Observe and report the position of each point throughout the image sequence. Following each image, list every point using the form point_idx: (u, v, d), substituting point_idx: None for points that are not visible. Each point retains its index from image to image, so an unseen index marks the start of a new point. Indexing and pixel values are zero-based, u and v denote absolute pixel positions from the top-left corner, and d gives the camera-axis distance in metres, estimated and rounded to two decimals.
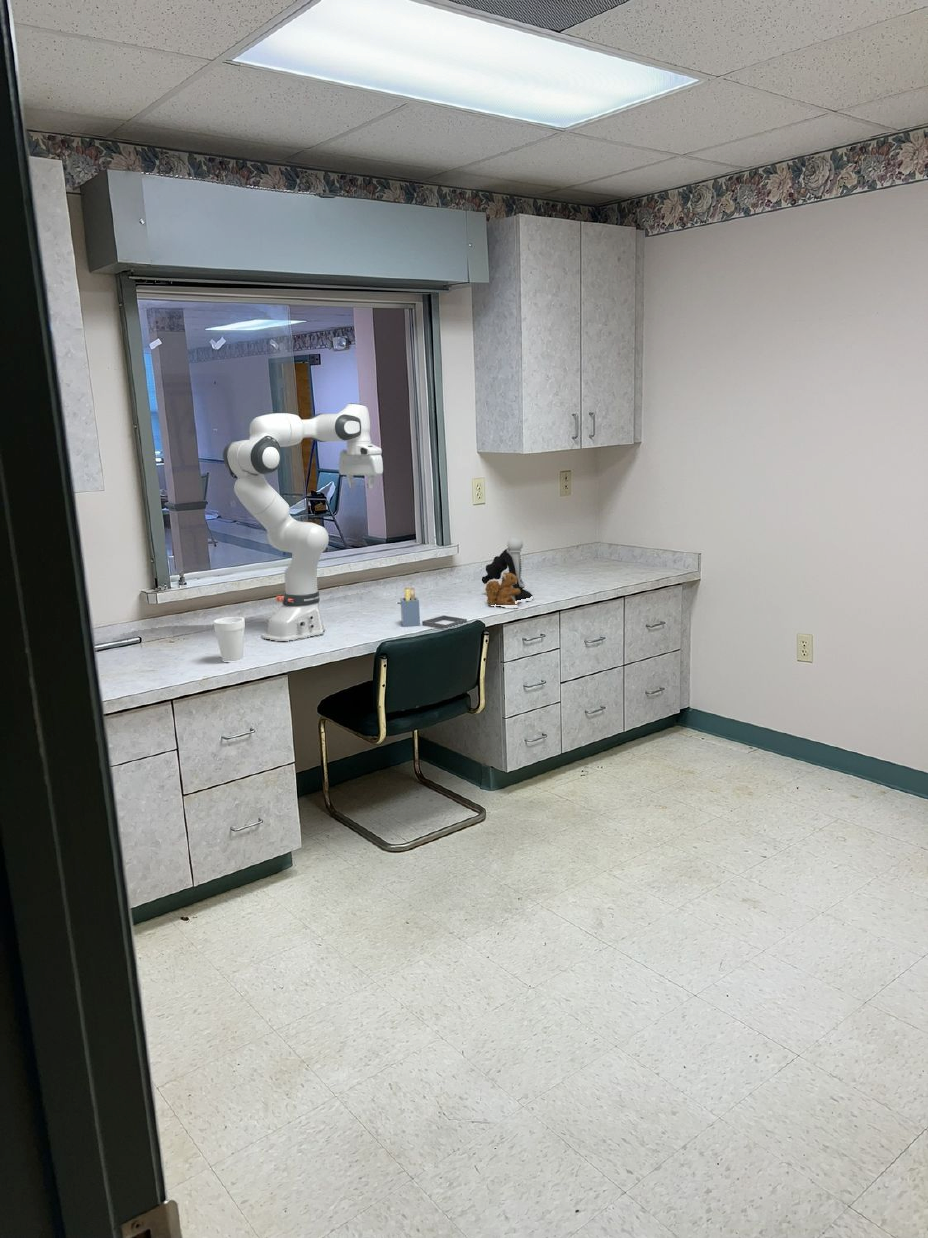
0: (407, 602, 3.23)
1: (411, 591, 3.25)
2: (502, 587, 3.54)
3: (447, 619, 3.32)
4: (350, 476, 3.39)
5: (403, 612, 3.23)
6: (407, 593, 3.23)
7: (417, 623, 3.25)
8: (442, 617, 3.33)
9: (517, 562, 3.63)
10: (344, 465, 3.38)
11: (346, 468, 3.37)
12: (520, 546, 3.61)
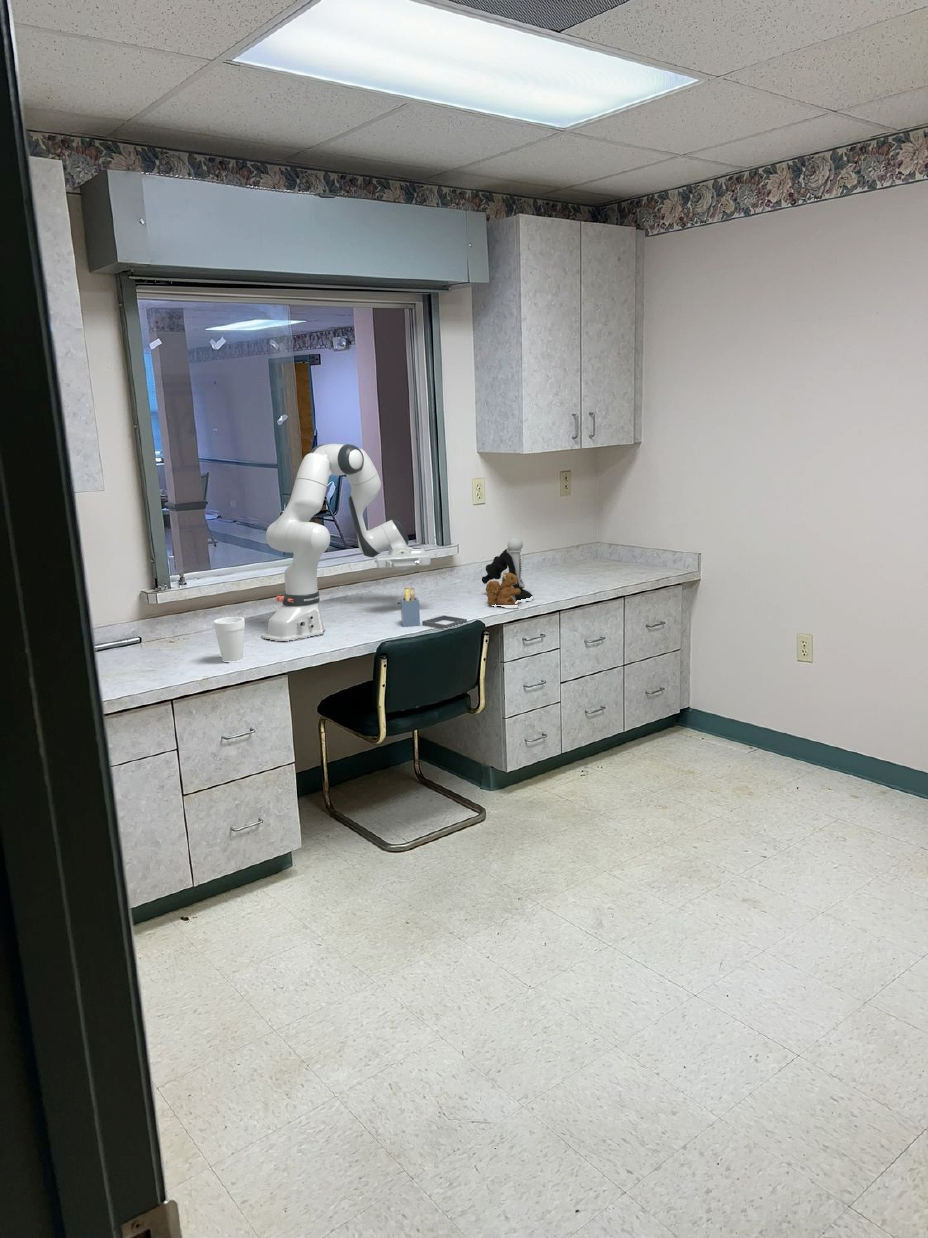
0: (407, 602, 3.23)
1: (411, 591, 3.25)
2: (502, 587, 3.54)
3: (447, 619, 3.32)
4: (390, 562, 3.38)
5: (403, 612, 3.24)
6: (407, 593, 3.24)
7: (417, 623, 3.25)
8: (442, 617, 3.33)
9: (517, 562, 3.63)
10: (385, 557, 3.42)
11: (388, 557, 3.41)
12: (520, 546, 3.61)
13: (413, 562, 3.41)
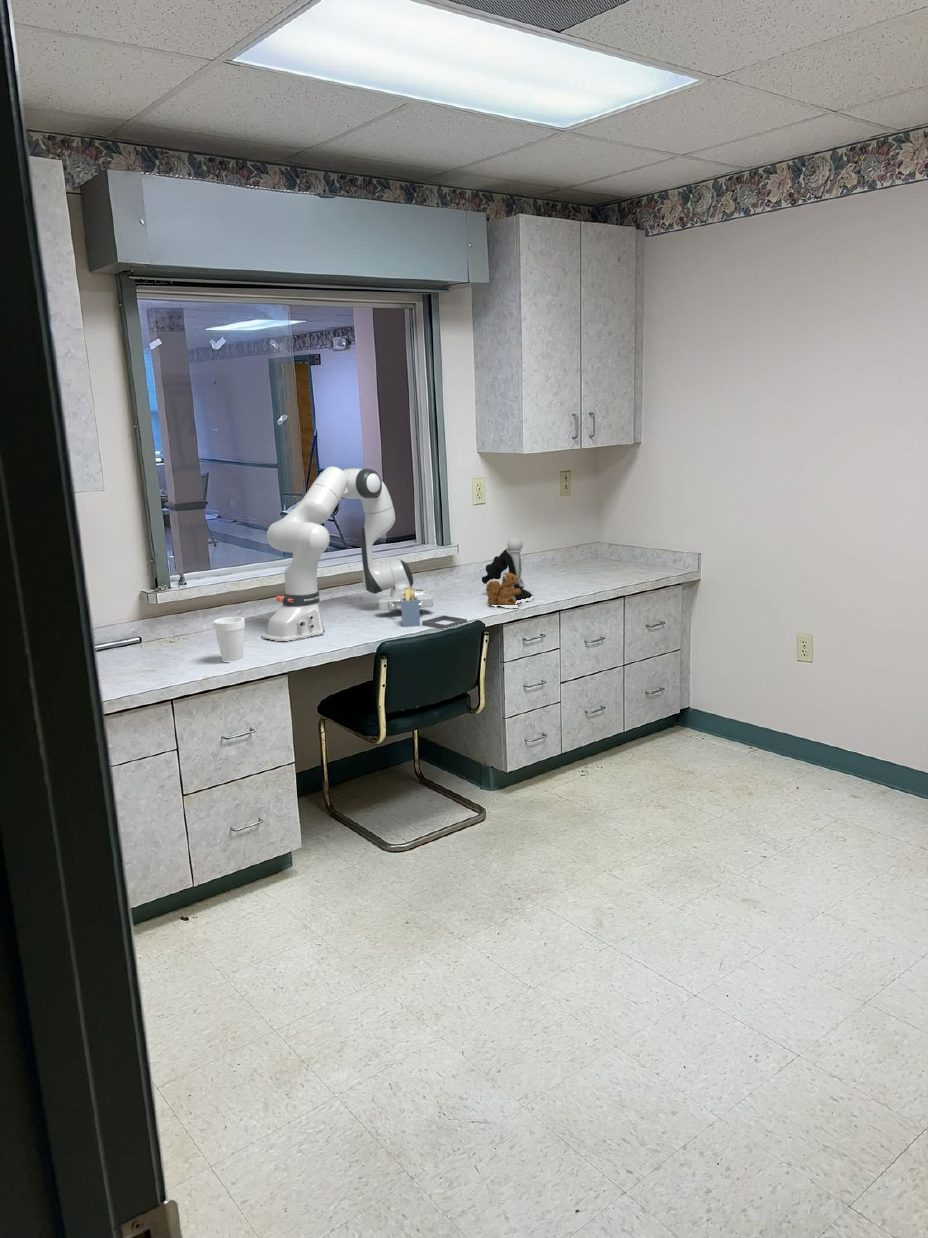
0: (407, 602, 3.23)
1: (411, 591, 3.25)
2: (503, 587, 3.53)
3: (447, 619, 3.32)
4: (392, 604, 3.38)
5: (403, 612, 3.24)
6: (407, 593, 3.23)
7: (417, 623, 3.25)
8: (442, 617, 3.33)
9: (517, 562, 3.63)
10: (387, 598, 3.41)
11: (391, 598, 3.41)
12: (520, 546, 3.61)
13: None
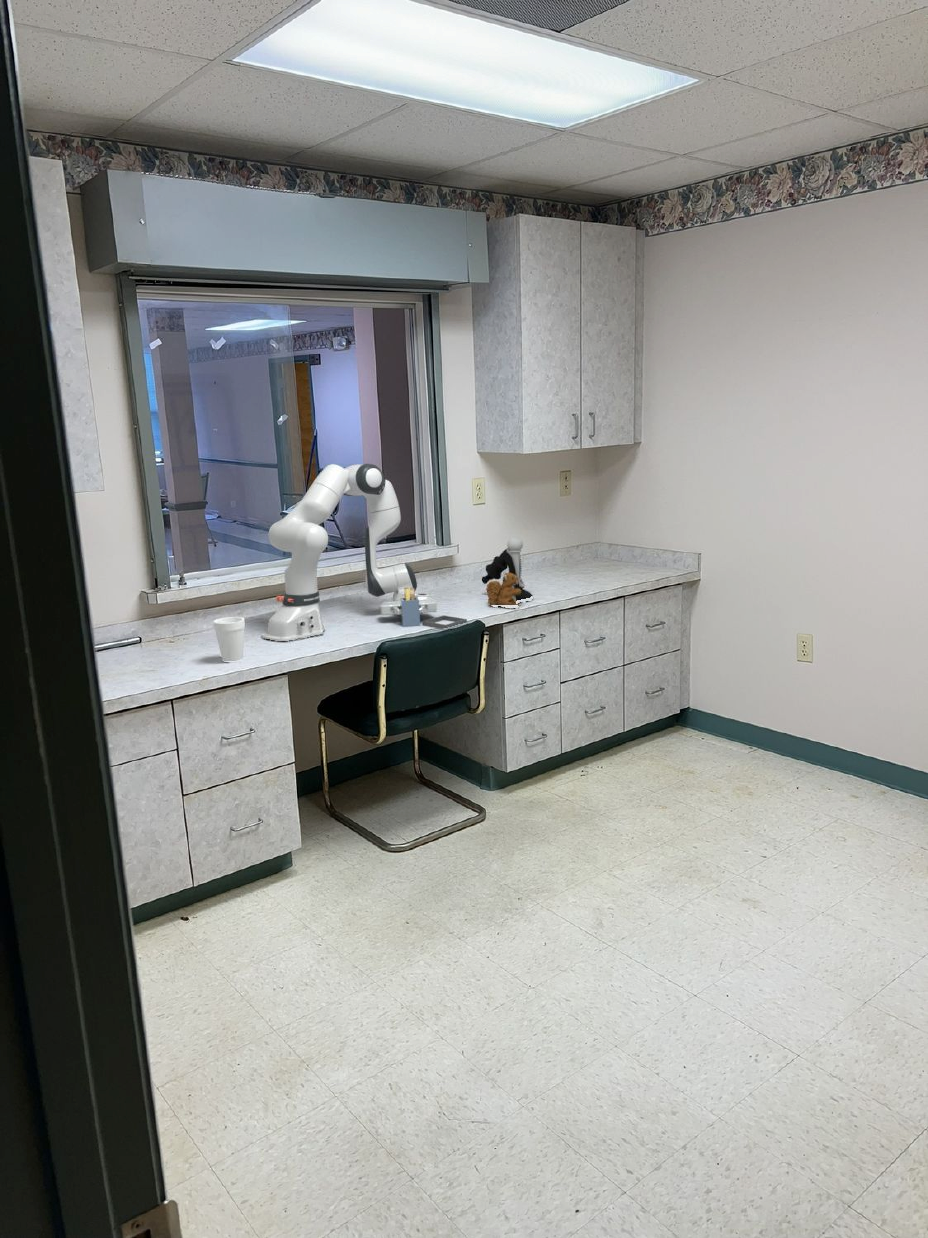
0: (407, 602, 3.23)
1: (411, 591, 3.25)
2: (503, 587, 3.53)
3: (447, 619, 3.32)
4: (397, 609, 3.29)
5: (403, 612, 3.23)
6: (407, 593, 3.24)
7: (417, 623, 3.25)
8: (442, 617, 3.33)
9: (517, 562, 3.63)
10: (389, 603, 3.32)
11: (393, 603, 3.32)
12: (520, 546, 3.61)
13: None
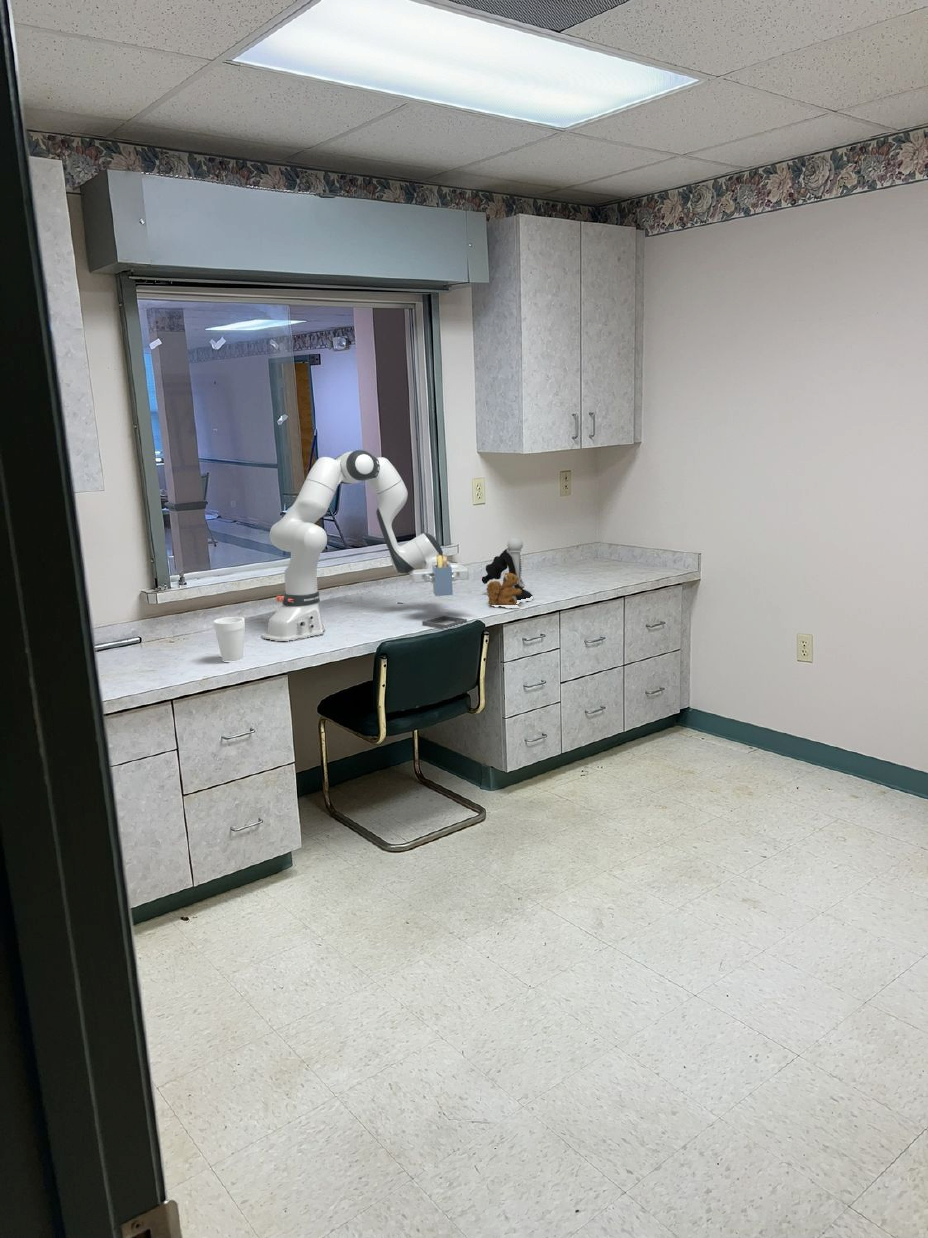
0: (440, 568, 3.19)
1: (443, 558, 3.21)
2: (503, 587, 3.53)
3: (447, 619, 3.32)
4: None
5: (436, 579, 3.20)
6: (440, 559, 3.20)
7: (450, 590, 3.22)
8: (442, 617, 3.33)
9: (517, 562, 3.63)
10: (421, 571, 3.29)
11: (424, 571, 3.28)
12: (520, 546, 3.61)
13: None
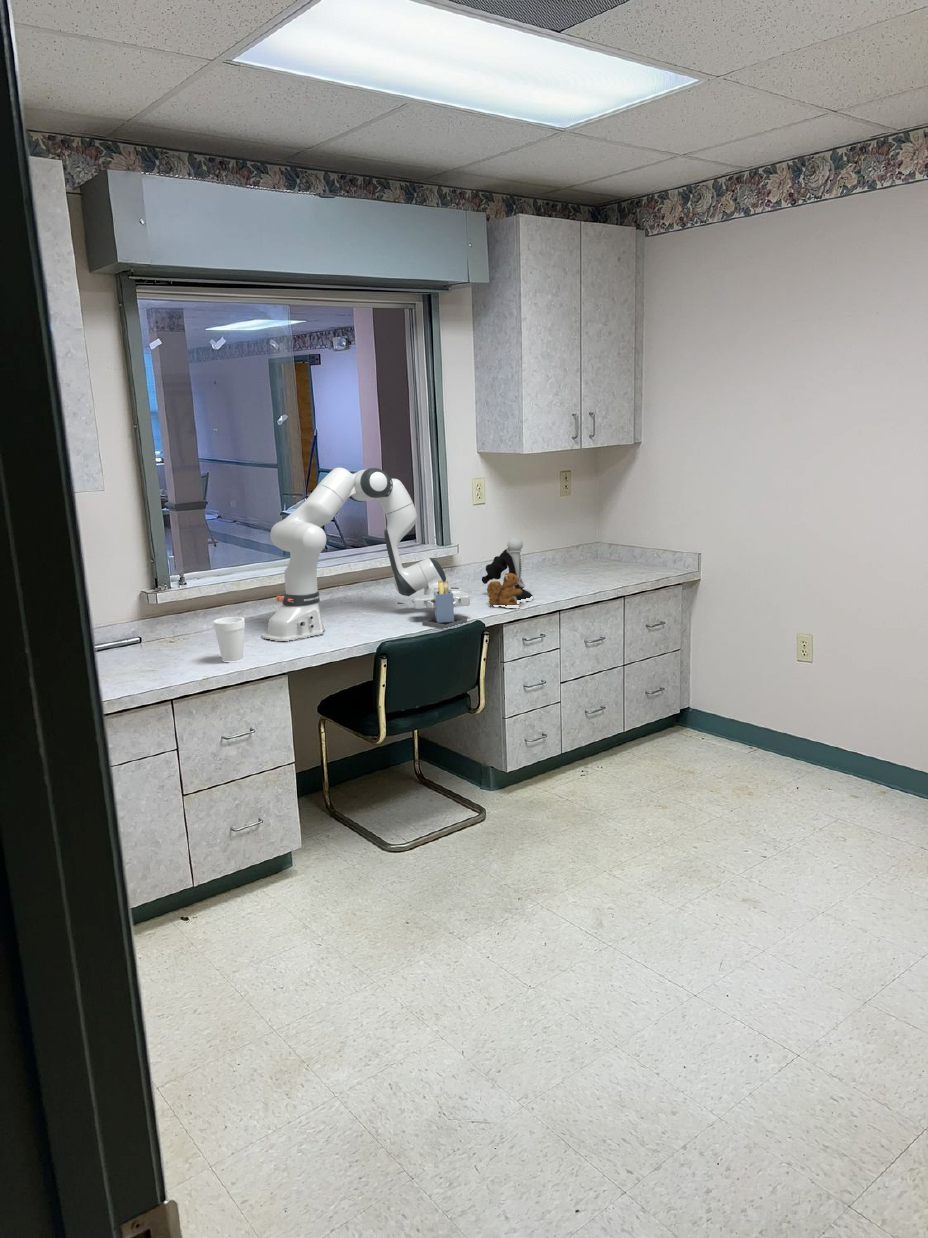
0: (441, 595, 3.21)
1: (445, 584, 3.23)
2: (504, 587, 3.53)
3: None
4: None
5: (437, 605, 3.22)
6: (441, 586, 3.22)
7: (451, 616, 3.23)
8: None
9: (517, 562, 3.63)
10: (422, 597, 3.30)
11: (426, 597, 3.30)
12: (520, 546, 3.61)
13: None
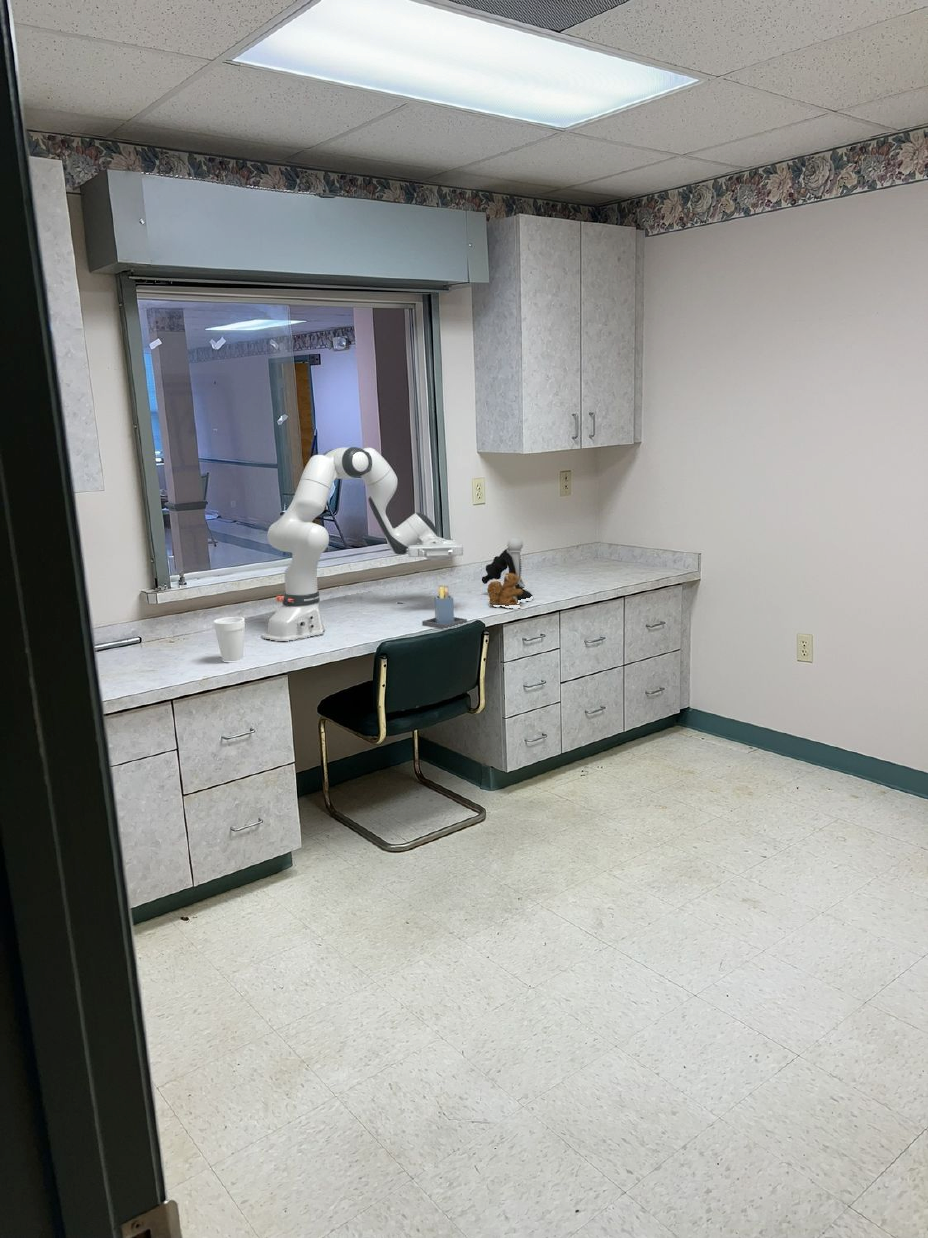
0: (441, 600, 3.22)
1: (445, 589, 3.23)
2: (504, 588, 3.52)
3: None
4: None
5: (437, 610, 3.22)
6: (441, 590, 3.22)
7: (451, 621, 3.24)
8: None
9: (517, 562, 3.63)
10: (417, 546, 3.38)
11: (420, 546, 3.37)
12: (520, 546, 3.61)
13: (445, 552, 3.38)
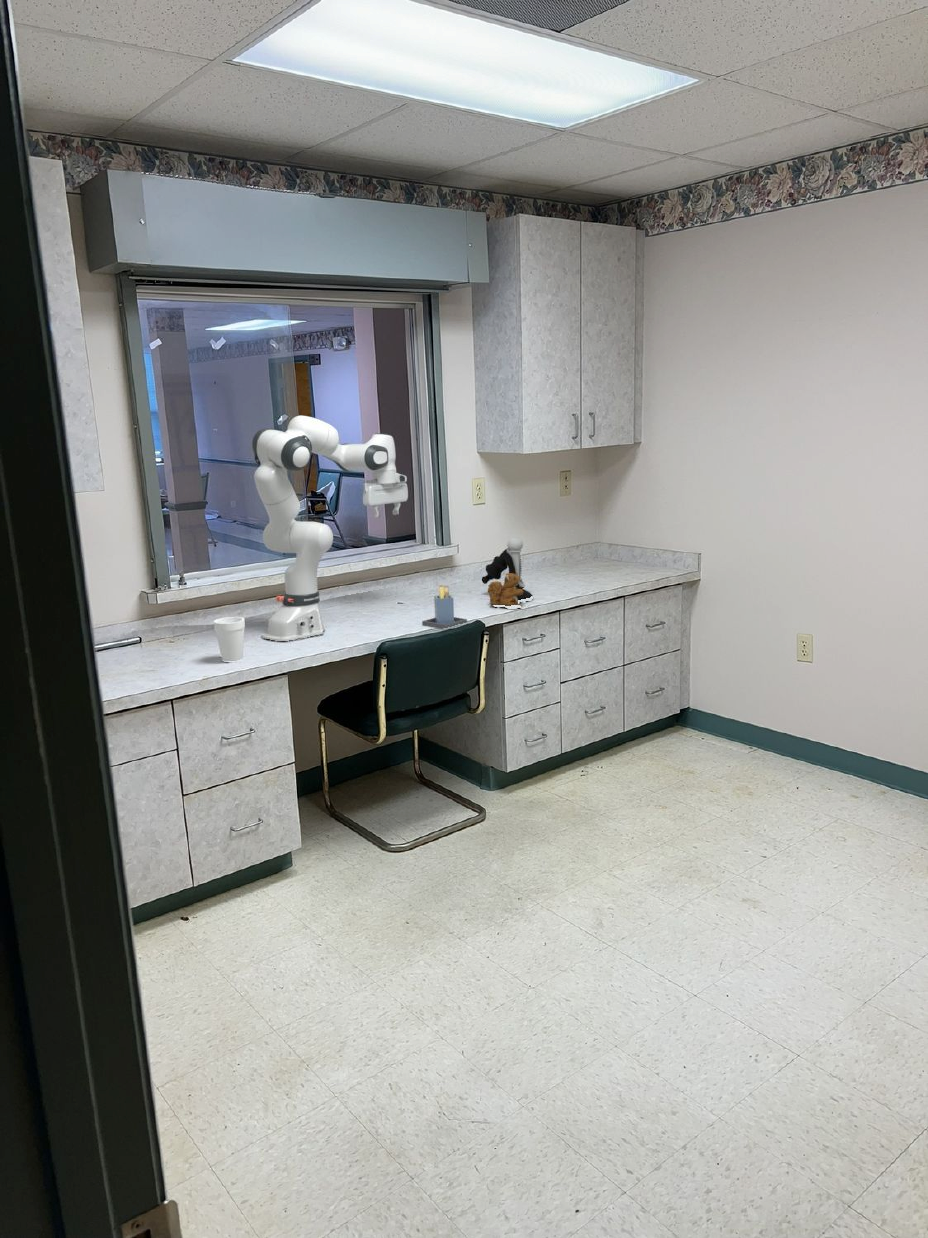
0: (441, 600, 3.22)
1: (445, 589, 3.23)
2: (505, 588, 3.52)
3: None
4: None
5: (437, 610, 3.22)
6: (441, 591, 3.22)
7: (451, 621, 3.24)
8: None
9: (517, 562, 3.63)
10: (375, 496, 3.34)
11: (378, 498, 3.35)
12: (520, 546, 3.61)
13: None
